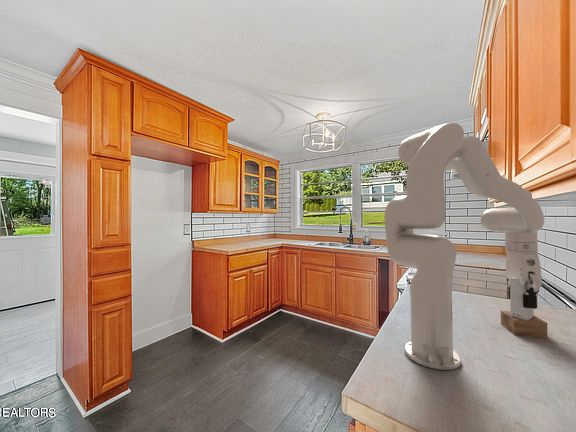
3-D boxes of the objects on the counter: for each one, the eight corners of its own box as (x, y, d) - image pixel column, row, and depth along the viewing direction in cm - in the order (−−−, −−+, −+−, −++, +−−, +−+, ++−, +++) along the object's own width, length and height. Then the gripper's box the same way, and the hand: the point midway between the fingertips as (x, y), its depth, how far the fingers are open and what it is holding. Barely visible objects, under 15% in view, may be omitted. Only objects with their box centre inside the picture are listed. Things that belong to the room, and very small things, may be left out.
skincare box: (528, 321, 76) (528, 281, 76) (509, 316, 80) (509, 278, 79) (534, 316, 79) (534, 277, 79) (515, 311, 83) (516, 274, 83)
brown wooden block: (547, 338, 74) (547, 322, 74) (514, 334, 77) (514, 320, 77) (530, 326, 82) (530, 313, 82) (501, 324, 84) (500, 310, 84)
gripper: (555, 251, 70) (557, 315, 70) (519, 244, 87) (520, 296, 87) (522, 250, 72) (523, 312, 72) (493, 244, 89) (494, 294, 89)
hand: (521, 303), depth 79 cm, fingers open, 7 cm apart
